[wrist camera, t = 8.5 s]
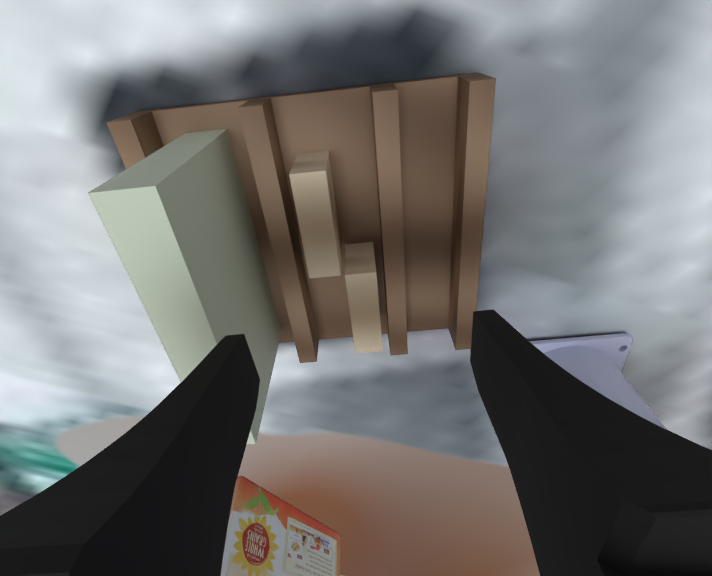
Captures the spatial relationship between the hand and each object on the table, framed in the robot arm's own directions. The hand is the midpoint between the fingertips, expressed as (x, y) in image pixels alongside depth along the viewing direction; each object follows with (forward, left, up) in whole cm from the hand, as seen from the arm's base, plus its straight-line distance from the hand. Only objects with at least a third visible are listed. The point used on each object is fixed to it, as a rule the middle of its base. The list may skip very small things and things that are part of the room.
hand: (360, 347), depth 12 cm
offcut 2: (-4, 0, -10) cm, 10 cm away
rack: (-1, +1, -10) cm, 10 cm away
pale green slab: (-1, +6, -10) cm, 12 cm away
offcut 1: (+1, +2, -10) cm, 10 cm away
